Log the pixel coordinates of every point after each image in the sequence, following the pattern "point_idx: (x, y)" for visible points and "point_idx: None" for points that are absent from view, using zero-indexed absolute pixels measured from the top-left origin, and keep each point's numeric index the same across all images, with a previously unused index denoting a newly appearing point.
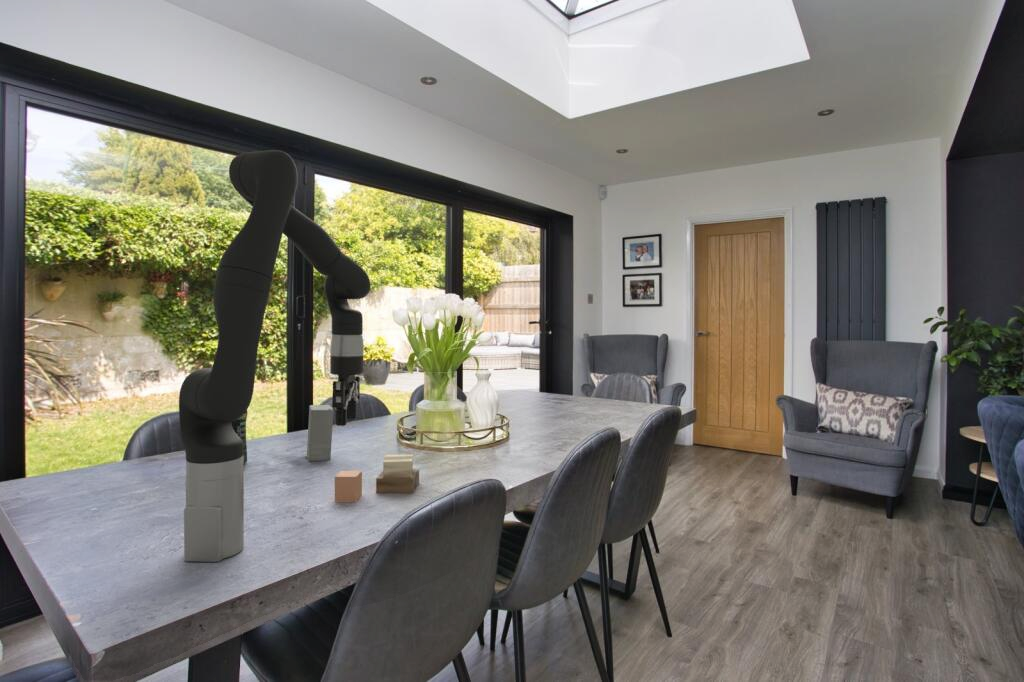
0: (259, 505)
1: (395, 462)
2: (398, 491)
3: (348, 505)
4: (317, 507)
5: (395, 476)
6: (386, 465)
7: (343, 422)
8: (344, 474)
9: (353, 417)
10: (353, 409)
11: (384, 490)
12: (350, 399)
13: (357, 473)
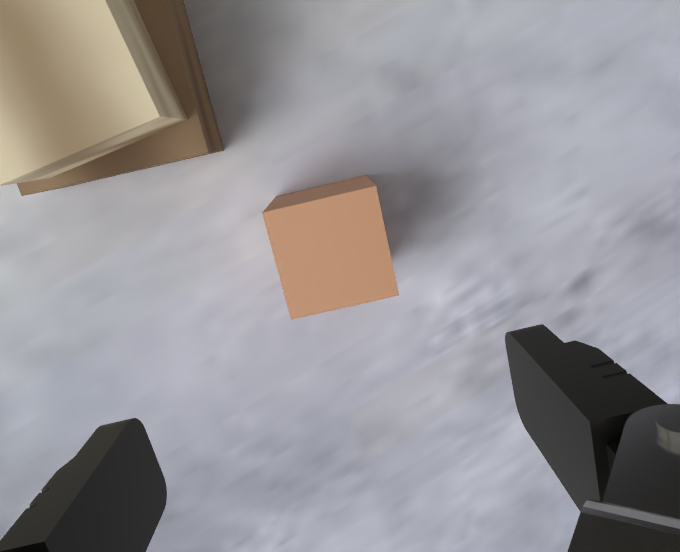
0: (487, 488)
1: (125, 38)
2: (191, 37)
3: (414, 184)
4: (464, 290)
5: (156, 51)
6: (158, 97)
7: (577, 345)
8: (351, 267)
9: (137, 444)
10: (97, 511)
11: (210, 109)
12: (592, 510)
13: (314, 211)
